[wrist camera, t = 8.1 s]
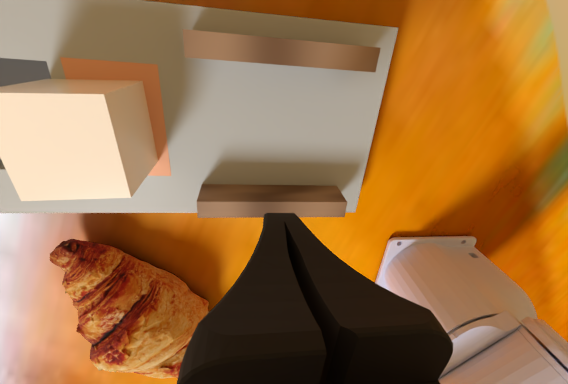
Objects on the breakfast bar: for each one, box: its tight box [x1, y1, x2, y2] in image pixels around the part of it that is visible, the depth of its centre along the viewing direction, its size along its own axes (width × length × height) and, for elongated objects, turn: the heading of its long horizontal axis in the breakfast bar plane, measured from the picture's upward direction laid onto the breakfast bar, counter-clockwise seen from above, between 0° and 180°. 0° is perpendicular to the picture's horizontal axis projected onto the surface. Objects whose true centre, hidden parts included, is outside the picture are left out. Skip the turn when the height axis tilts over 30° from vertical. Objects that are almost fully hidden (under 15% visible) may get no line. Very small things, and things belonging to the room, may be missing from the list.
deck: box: [0, 0, 398, 213], centre depth 18 cm, size 28×13×2 cm, turn 85°
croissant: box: [50, 239, 209, 378], centre depth 25 cm, size 21×10×8 cm, turn 24°
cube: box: [0, 79, 158, 201], centre depth 15 cm, size 5×5×5 cm
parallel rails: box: [182, 29, 381, 218], centre depth 17 cm, size 10×11×2 cm
